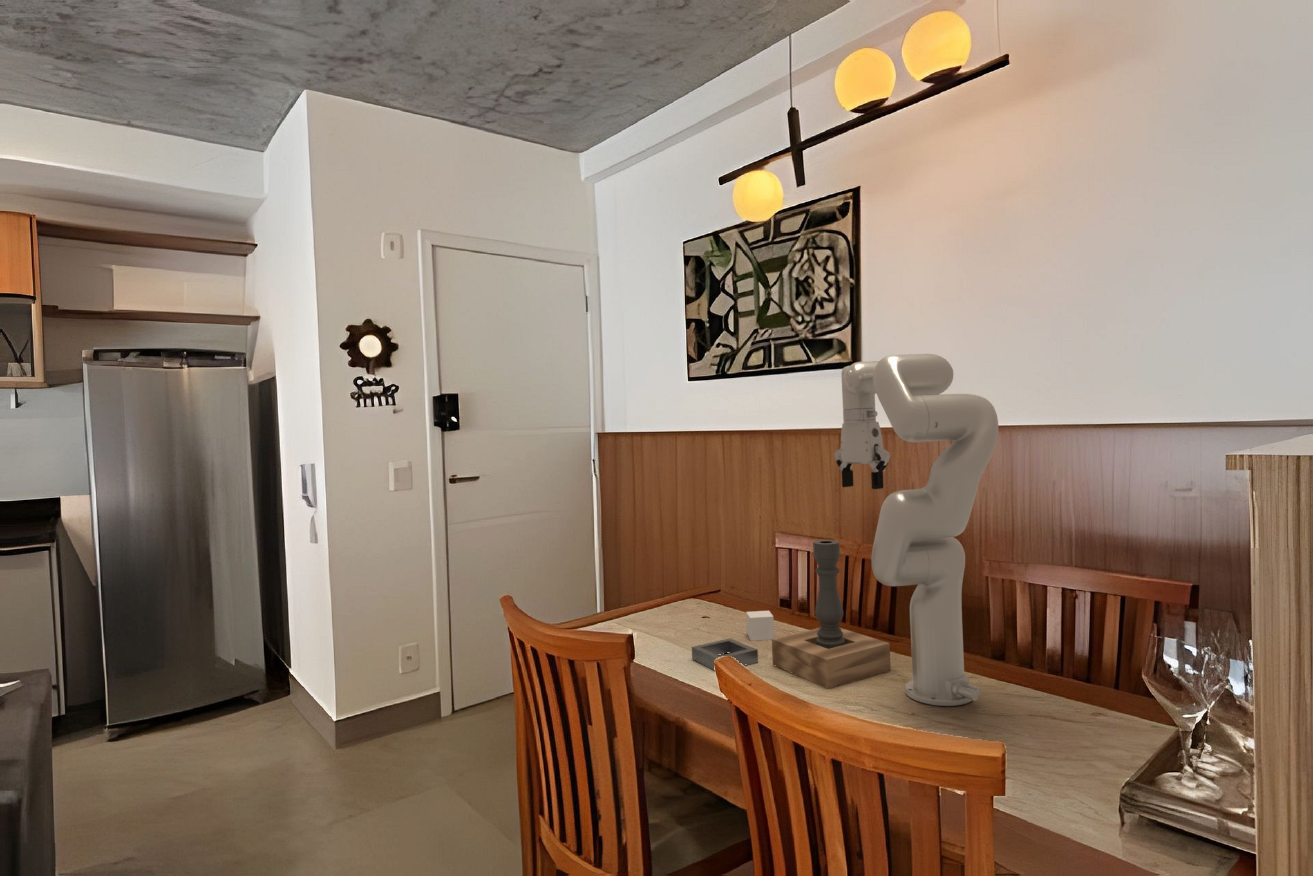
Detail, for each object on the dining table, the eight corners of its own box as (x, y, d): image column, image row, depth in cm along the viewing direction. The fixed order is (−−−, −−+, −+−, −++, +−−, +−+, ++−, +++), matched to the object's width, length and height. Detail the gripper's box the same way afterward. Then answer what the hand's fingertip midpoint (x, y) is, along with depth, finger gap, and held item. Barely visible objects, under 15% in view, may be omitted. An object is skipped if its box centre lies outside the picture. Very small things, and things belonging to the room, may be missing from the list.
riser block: (890, 670, 155) (889, 643, 155) (828, 688, 146) (826, 659, 146) (832, 650, 171) (831, 625, 171) (772, 665, 162) (771, 639, 162)
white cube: (747, 634, 187) (746, 611, 187) (769, 633, 187) (768, 610, 187) (751, 641, 181) (749, 617, 181) (774, 640, 181) (773, 616, 181)
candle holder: (842, 650, 161) (838, 539, 161) (847, 659, 155) (842, 544, 154) (815, 650, 162) (810, 540, 161) (818, 659, 155) (813, 545, 155)
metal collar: (758, 662, 164) (757, 649, 164) (718, 672, 159) (717, 659, 159) (730, 650, 174) (730, 638, 174) (692, 659, 168) (691, 647, 168)
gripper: (898, 414, 166) (901, 488, 166) (845, 417, 181) (848, 484, 181) (875, 415, 162) (878, 491, 162) (822, 418, 177) (825, 487, 178)
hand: (862, 487), depth 172 cm, fingers open, 9 cm apart
